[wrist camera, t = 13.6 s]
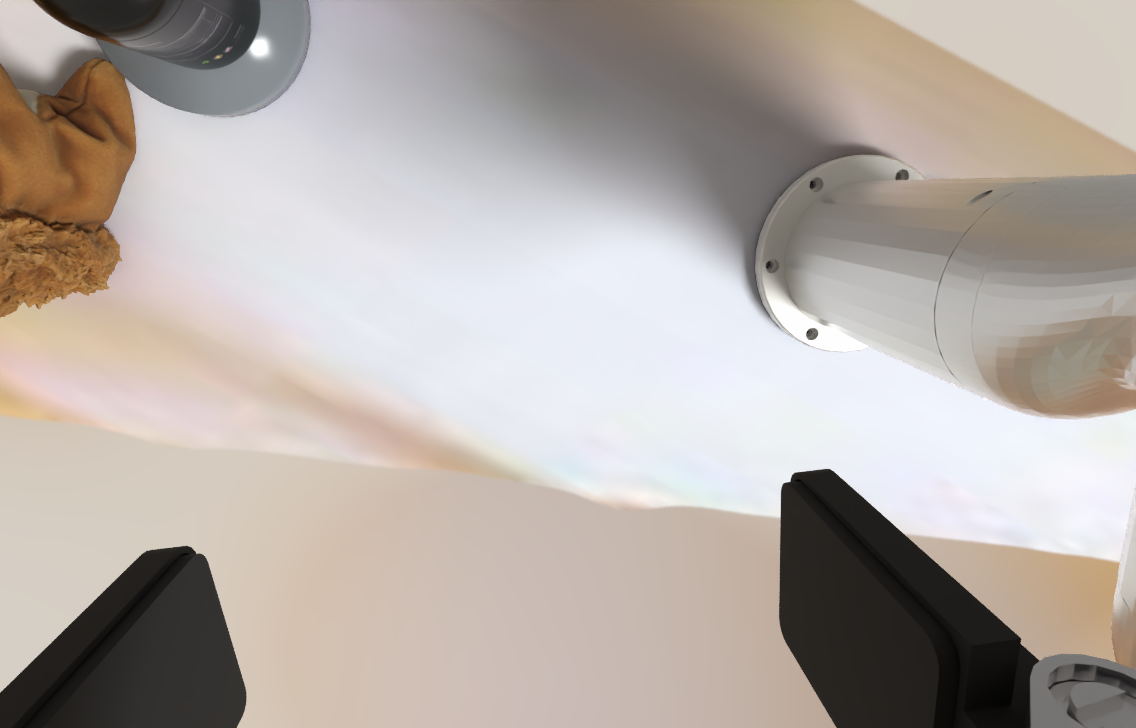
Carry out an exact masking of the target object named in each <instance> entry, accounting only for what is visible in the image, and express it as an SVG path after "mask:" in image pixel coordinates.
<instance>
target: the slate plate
mask: <svg viewBox="0 0 1136 728" xmlns="http://www.w3.org/2000/svg"><path fill="white" fill-rule="evenodd" d="M260 5H261V17H260V24H259V29H258V32H257V35H256V37H255V39H254V41H253V43H252V45H251V46H250V48H249V49H248V50H247V52H246V53H245V54H244V55H243V56H242V57H241V58H239V59H238V60H237V61H235V62H233V63H232V64H229V65H227V66H225V67H222V68H218V69H212V70H197V69H191V68H186V67H182V66H179V65H176V64H172V63H169V62H166V61H163V60H160V59H157V58H154V57H151V56H148V55H145V54H142V53H139V52H136V51H133V50H130V49H127V48H124V47H121V46H117V45H114V44H111V43H108V42H105V41H102V40H99V39H96V40H97V42H98V43H99V45H100V47H101V48H102V50H103V52H104V53H105V55H106V56H107V57H108V58H109V60H110V61H111V62H112V64H113V65H114V66H115V67H116V68H117V69H118V70H119V71H120V73H121V74H122V75H123V76H124V77H125V78H126V79H128V80H129V81H130V82H131V83H132V84H133V85H135V86H136V87H137V88H138V89H140V90H141V91H143V92H144V93H146V94H147V95H149V96H150V97H152V98H154V99H156V100H158V101H160V102H162V103H163V104H166V105H169V106H171V107H174V108H176V109H180V110H184V111H188V112H192V113H196V114H200V115H205V116H213V117H234V116H241V115H246V114H249V113H252V112H255V111H258V110H260V109H262V108H264V107H266V106H268V105H269V104H271V103H272V102H274V101H275V100H277V99H278V98H279V97H280V96H281V95H282V94H283V93H284V92H285V91H286V90H287V89H288V88H289V87H290V85H291V84H292V83H293V82H294V80H295V79H296V77H297V75H298V73H299V72H300V70H301V68H302V65H303V63H304V60H305V58H306V54H307V50H308V46H309V39H310V10H309V2H308V0H260Z"/></svg>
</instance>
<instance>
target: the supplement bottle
mask: <svg viewBox="0 0 1136 728" xmlns="http://www.w3.org/2000/svg"><path fill="white" fill-rule="evenodd" d="M33 1H34V2H35V3H36V4H37V5H38V6H39V7H40V8H41V9H42V10H44V11H45V12H46V13H47V14H49V15H50V16H51V17H53V18H54V19H55V20H57V21H59V22H60V23H62V24H63V25H65V26H67V27H69V28H71V29H73V30H75V31H78V32H80V33H83V34H85V35H87V36H90V37H93V38H96V39H99V40H102V41H105V42H108V43H111V44H114V45H117V46H121V47H124V48H127V49H130V50H133V51H136V52H139V53H142V54H145V55H148V56H151V57H154V58H157V59H160V60H163V61H166V62H169V63H172V64H176V65H179V66H182V67H186V68H191V69H197V70H212V69H218V68H222V67H225V66H227V65H229V64H232V63H233V62H235V61H237V60H238V59H239V58H241V57H242V56H243V55H244V54H245V53H246V52H247V50H248V49H249V48H250V46H251V45H252V43H253V41H254V39H255V37H256V35H257V32H258V29H259V24H260V17H261V5H260V0H33Z"/></svg>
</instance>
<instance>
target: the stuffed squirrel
mask: <svg viewBox="0 0 1136 728" xmlns="http://www.w3.org/2000/svg"><path fill="white" fill-rule="evenodd" d="M135 153H136V136H135V125H134V115H133V109H132V105H131V99H130V95H129V91H128V88H127V86H126V83H125V78H124V76H123V75H122V74H121V73H120V71H119V70H118V69H117V68H116V67H115V66H114V65H113V64H112V63H111V62H110V61H105V60H103V59H98V58H96V59H92V60H90V61H88V62H86V63H85V64H84V65H83V66H82V67H80V68H79V69H78V70H77V71H76V72H75V73H74V75H73V76H72V77H71V78H70V79H69V80H68V81H67V82H66V84H65V85H64V87H63V88H62V89H61V90H60V91H59V93H58V94H57V95H56V96H55V97H53V96H49V95H43V94H40V93H38V92H36V91H32V90H27V89H17V88H16V87H15V86H14V84H13V82H12V80H11V79H10V77H9V76H8V74H7V73H6V71H5V70H4V68H3V66H2V65H1V64H0V317H4V316H5V315H8V314H10V313H12V312H14V311H16V310H17V308H18V306H19V305H21V303H23V302H25V303H26V304H27V306H28V307H31V306H32V305H33V304H36V307H37V308H38V309H40V308H41V306H42V304H43V303H44V304H47V303H49V302H50V301H51V299H55V298H56V296H57V297H60V296H61V298H62V299H65V298H66V296H67V295H68V294H71V292H72V291H73V292H74V293H77V291H79V292H81V293H83V294H85V295H88V296H89V293H95V292H96V290H100V291H101V290H104V289H107V290H108V289H109V287H107V283H106V282H107V280H108V278H109V275H110V274H112V271H114V269H115V266H116V264H117V262H118V261H122V259H121V258H120V254H119V252H120V251H119V247H120V245H118V244H117V242H116V241H115V239H114V237H113V236H112V235H111V234H110V233H109V231H108V230H107V229H106V228H104V227H103V223H104V222H105V221H107V220H108V219H109V217H110V216H111V214H112V211H113V208H114V206H115V204H116V201H117V199H118V196H119V194H120V190H121V187H122V184H123V182H124V180H125V177H126V174H127V172H128V170H129V168H130V166H131V164H132V162H133V160H134V157H135Z"/></svg>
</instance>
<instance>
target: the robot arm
mask: <svg viewBox="0 0 1136 728" xmlns="http://www.w3.org/2000/svg"><path fill="white" fill-rule="evenodd" d="M896 175H897V178H896V179H895V177H896ZM811 181H812V182H813V187H812V188H811V189H810V186H809V185H810V182H811ZM768 261H769V262H770V266H769V268H766V263H767V262H768ZM755 274H756V281H757V288H758V291H759V294H760V297H761V300H762V302H763V305H764V307H765V308H766V310H767V311H768V313H769V315H770V316H771V318H772V319H773V320H774V321H775V323H776V324H777V325H778V326H779V327H780V328H781V329H782V330H783V331H784V332H786V333H787V334H789V335H790V336H792V337H793V338H795V339H796V340H798V341H800V342H802V343H804V344H806V345H808V346H811V347H814V348H817V349H821V350H824V351H834V352H848V351H857V350H862V349H865V348H868V347H871V348H873V349H875V350H877V351H879V352H882V353H884V354H886V355H888V356H891V357H893V358H895V359H897V360H899V361H902V362H904V363H906V364H908V365H911V366H913V367H915V368H917V369H919V370H922V371H924V372H926V373H928V374H931V375H933V376H935V377H937V378H939V379H942V380H944V381H946V382H948V383H951V384H953V385H955V386H957V387H960V388H962V389H964V390H966V391H969V392H971V393H973V394H975V395H978V396H980V397H982V398H984V399H987V400H990V401H992V402H994V403H996V404H999V405H1001V406H1003V407H1006V408H1009V409H1012V410H1015V411H1017V412H1020V413H1024V414H1028V415H1033V416H1038V417H1043V418H1052V419H1086V418H1094V417H1101V416H1107V415H1114V414H1118V413H1123V412H1127V411H1131V410H1134V409H1136V174H1126V175H1096V176H1063V177H1022V178H975V179H928V180H927V179H926V178H925V177H924V176H923V175H921V174H920V173H919V172H918V171H916V170H915V169H914V168H913V167H911V166H909V165H907V164H905V163H903V162H901V161H899V160H897V159H894V158H889V157H885V156H881V155H854V156H846V157H841V158H838V159H834V160H831V161H828V162H825V163H823V164H821V165H819V166H817V167H815V168H813V169H811V170H809V171H808V172H806V173H805V174H804V175H802V176H801V177H800V178H799V179H797V180H796V181H795V182H793V183H792V184H791V185H790V186H789V187H788V188H787V190H786V191H785V192H784V193H783V194H782V195H781V196H780V197H779V198H778V200H777V202H776V203H775V205H774V206H773V208H772V209H771V211H770V212H769V214H768V216H767V218H766V221H765V223H764V225H763V228H762V230H761V232H760V236H759V240H758V245H757V249H756V259H755ZM808 329H809V332H808V334H806V332H807V330H808ZM780 537H781V538H780V539H781V540H780V603H779V607H780V608H779V619H780V626H781V631H782V634H783V637H784V639H785V641H786V643H787V645H788V647H789V648H790V650H791V652H792V653H793V655H794V657H795V658H796V660H797V662H798V663H799V665H800V667H801V669H802V670H803V672H804V674H805V675H806V677H807V679H808V680H809V682H810V684H811V685H812V687H813V689H814V690H815V692H816V694H817V695H818V697H819V699H820V701H821V702H822V704H823V706H824V707H825V709H826V711H827V712H828V714H829V716H830V717H831V719H832V721H833V722H834V724H835V726H836V727H837V728H1136V486H1135V491H1134V496H1133V501H1132V506H1131V511H1130V516H1129V521H1128V526H1127V531H1126V536H1125V541H1124V546H1123V551H1122V556H1121V561H1120V566H1119V571H1118V581H1117V586H1116V591H1115V596H1114V604H1113V614H1112V626H1111V630H1112V644H1113V650H1114V655H1115V660H1116V663H1115V662H1112V661H1110V660H1106V659H1101V658H1097V657H1092V656H1087V655H1081V654H1058V655H1054V656H1050V657H1045V658H1043V659H1042V660H1041V661H1039V660H1038V659H1037V658H1036V657H1035V656H1034V655H1032V654H1031V653H1030V652H1029V651H1028V650H1027V649H1026V648H1025V647H1024V646H1022V645H1021V644H1020V642H1021V638H1020V637H1019V636H1018V635H1017V634H1015V633H1014V632H1013V631H1012V630H1011V629H1010V628H1009V627H1008V626H1006V625H1005V624H1004V623H1003V622H1002V621H1001V620H1000V619H998V618H997V617H996V616H995V615H994V614H993V613H992V612H991V611H990V610H988V609H987V608H986V607H985V606H984V605H983V604H982V603H981V602H979V601H978V600H977V599H976V598H975V597H974V596H973V595H972V594H971V593H969V592H968V591H967V590H966V589H965V588H964V587H963V586H961V585H960V584H959V583H958V582H957V581H956V580H955V579H954V578H953V577H951V576H950V575H949V574H948V573H947V572H946V571H945V570H944V569H942V568H941V567H940V566H939V565H938V564H937V563H936V562H935V561H933V560H932V559H931V558H930V557H929V556H928V555H927V554H926V553H925V552H923V551H922V550H921V549H920V548H919V547H918V546H917V545H915V544H914V543H913V542H912V541H911V540H910V539H909V538H908V537H907V536H905V535H904V534H903V533H902V532H901V531H900V530H899V529H898V528H896V527H895V526H894V525H893V524H892V523H891V522H890V521H889V520H887V519H886V518H885V517H884V516H883V515H882V514H881V513H880V512H878V511H877V510H876V509H875V508H874V507H873V506H872V505H871V504H870V503H868V502H867V501H866V500H865V499H864V498H863V497H862V496H861V495H859V494H858V493H857V492H856V491H855V490H854V489H853V488H852V487H850V486H849V485H848V484H847V483H846V482H845V481H844V480H843V479H841V478H840V477H839V476H838V475H837V474H836V473H835V472H834V471H832V470H830V469H822V470H814V471H806V472H797V473H794V474H793V475H792V478H791V481H790V482H788V483H784V484H783V486H782V489H781V536H780ZM245 706H246V689H245V685H244V682H243V679H242V675H241V672H240V668H239V665H238V662H237V658H236V655H235V652H234V648H233V645H232V642H231V638H230V635H229V631H228V628H227V625H226V622H225V618H224V615H223V612H222V608H221V605H220V601H219V598H218V594H217V591H216V588H215V585H214V581H213V578H212V574H211V571H210V568H209V564H208V561H207V559H206V558H205V556H204V555H202V554H196V552H195V551H194V550H193V549H192V548H191V547H188V546H181V547H173V548H165V549H157V550H150V551H146V552H145V553H143V554H142V555H141V556H140V557H139V558H138V559H137V560H136V561H134V562H133V563H132V564H131V565H130V567H128V568H127V569H126V570H125V571H124V572H123V573H122V574H121V575H120V576H119V577H118V578H117V579H116V580H115V581H114V582H113V583H112V584H111V585H110V586H109V587H108V588H107V589H106V590H105V591H104V592H103V593H102V594H101V595H100V596H99V597H98V598H97V599H96V600H95V601H94V602H93V603H92V604H91V605H90V606H89V607H88V608H86V609H85V611H83V612H82V613H81V614H80V615H79V616H78V617H77V618H76V619H75V620H74V621H73V622H72V623H71V624H70V625H69V626H68V627H67V628H66V629H65V630H64V631H63V632H62V633H61V634H60V635H59V636H58V637H57V638H56V639H55V640H54V641H53V642H52V643H51V644H50V645H49V646H48V647H47V648H46V649H45V650H44V651H43V652H42V653H41V654H40V655H38V656H37V657H36V658H35V659H34V660H33V661H32V662H31V663H30V664H29V665H28V666H27V667H26V668H25V669H24V670H23V671H22V672H21V673H20V674H19V675H18V676H17V677H16V678H15V679H14V680H13V681H12V682H11V683H10V684H9V685H8V686H7V687H6V688H5V689H4V690H3V691H2V692H1V693H0V728H237V726H238V724H239V722H240V720H241V718H242V716H243V713H244V710H245Z"/></svg>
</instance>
